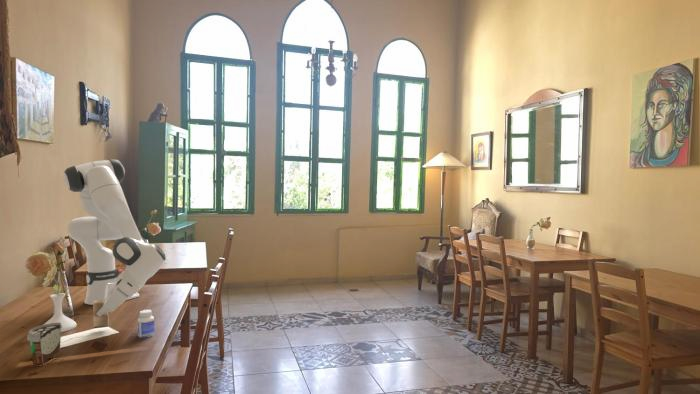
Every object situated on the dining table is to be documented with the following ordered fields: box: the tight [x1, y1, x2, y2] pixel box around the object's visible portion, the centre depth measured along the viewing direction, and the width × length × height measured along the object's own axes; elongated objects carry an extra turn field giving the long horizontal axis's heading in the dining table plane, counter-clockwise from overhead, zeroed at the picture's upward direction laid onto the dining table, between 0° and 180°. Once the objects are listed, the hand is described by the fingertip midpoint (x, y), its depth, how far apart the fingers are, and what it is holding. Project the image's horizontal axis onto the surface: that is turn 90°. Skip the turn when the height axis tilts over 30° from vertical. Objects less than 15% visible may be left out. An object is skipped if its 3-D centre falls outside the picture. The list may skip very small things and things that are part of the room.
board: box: [60, 326, 120, 349], centre depth 158 cm, size 20×11×1 cm, turn 141°
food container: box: [26, 322, 62, 366], centre depth 141 cm, size 12×6×10 cm, turn 5°
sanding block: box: [92, 299, 110, 329], centre depth 163 cm, size 4×4×9 cm
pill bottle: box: [137, 309, 156, 339], centre depth 160 cm, size 5×5×10 cm
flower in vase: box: [41, 265, 78, 333], centre depth 165 cm, size 13×11×25 cm
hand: (99, 312), depth 162 cm, fingers closed on sanding block, 4 cm apart
